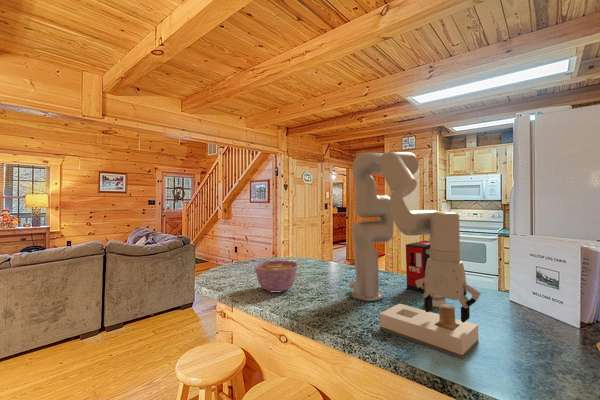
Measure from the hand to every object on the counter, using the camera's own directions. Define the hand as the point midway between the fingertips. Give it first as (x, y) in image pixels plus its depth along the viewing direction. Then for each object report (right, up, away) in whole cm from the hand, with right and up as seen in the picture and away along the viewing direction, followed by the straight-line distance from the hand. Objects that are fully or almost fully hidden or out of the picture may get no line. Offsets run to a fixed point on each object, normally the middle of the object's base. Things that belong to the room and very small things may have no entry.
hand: (446, 315), depth 83 cm
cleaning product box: (+16, -7, +50) cm, 53 cm away
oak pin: (0, -6, 0) cm, 7 cm away
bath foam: (+10, -7, +29) cm, 32 cm away
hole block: (-4, -8, +4) cm, 10 cm away
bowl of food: (-52, -9, +52) cm, 74 cm away
